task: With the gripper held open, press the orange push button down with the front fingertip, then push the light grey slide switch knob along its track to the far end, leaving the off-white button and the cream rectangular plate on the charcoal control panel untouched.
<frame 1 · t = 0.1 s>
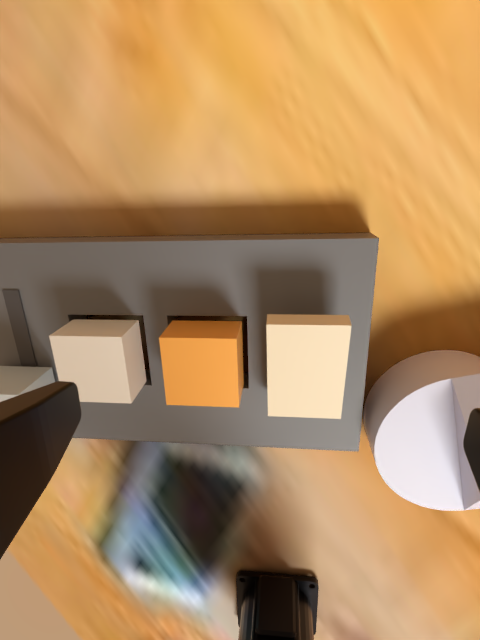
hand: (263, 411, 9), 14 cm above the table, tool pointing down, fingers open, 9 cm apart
orange button: (204, 362, 21), point 3 cm above the table, slide at 0.0 cm
off-white button: (101, 360, 22), point 3 cm above the table, slide at 0.0 cm
control panel: (168, 338, 25), on the table
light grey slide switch: (13, 401, 23), point 4 cm above the table, slide at 0.0 cm
wedge on round base: (468, 407, 24), on the table
cream rectangular plate: (305, 368, 20), point 4 cm above the table, hinge at -10.0°
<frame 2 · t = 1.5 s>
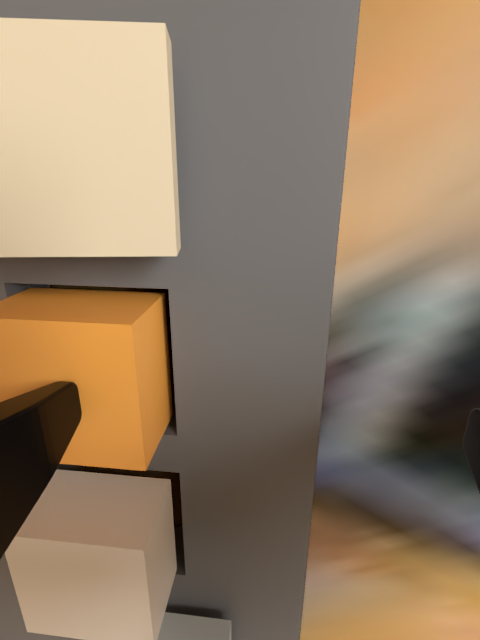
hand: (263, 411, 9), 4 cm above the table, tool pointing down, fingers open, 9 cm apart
orange button: (84, 373, 10), point 3 cm above the table, slide at -0.6 cm, touching gripper
off-white button: (100, 554, 12), point 3 cm above the table, slide at 0.0 cm
control panel: (130, 412, 14), on the table
cream rectangular plate: (19, 150, 8), point 4 cm above the table, hinge at -10.0°
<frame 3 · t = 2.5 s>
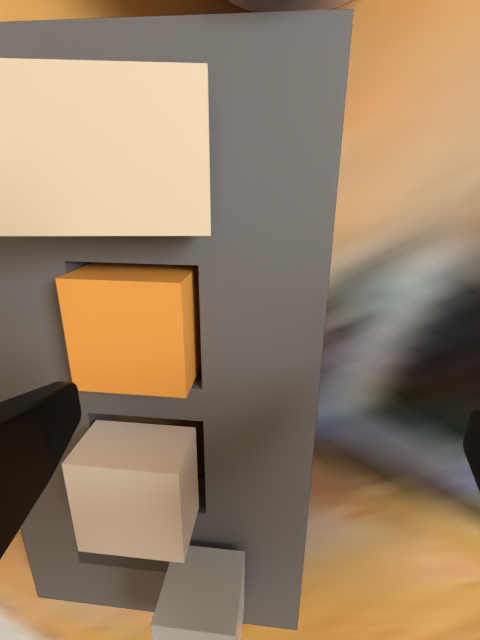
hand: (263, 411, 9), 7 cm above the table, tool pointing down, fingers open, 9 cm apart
orange button: (137, 326, 14), point 2 cm above the table, slide at -1.4 cm
off-white button: (138, 488, 14), point 3 cm above the table, slide at 0.0 cm
control panel: (159, 375, 16), on the table
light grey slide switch: (203, 615, 15), point 4 cm above the table, slide at 0.0 cm
cream rectangular plate: (93, 155, 10), point 4 cm above the table, hinge at -10.0°
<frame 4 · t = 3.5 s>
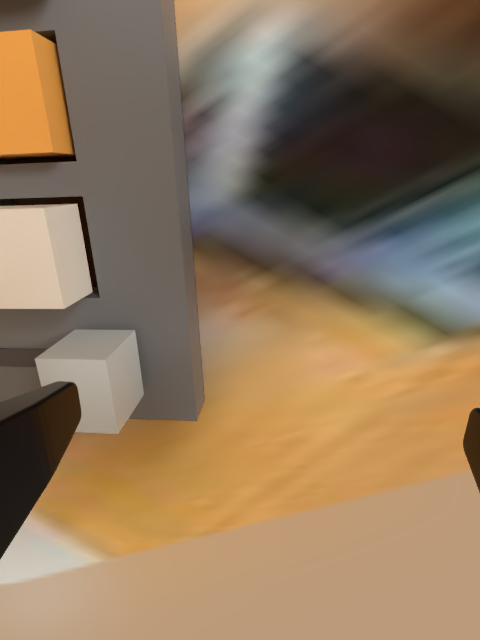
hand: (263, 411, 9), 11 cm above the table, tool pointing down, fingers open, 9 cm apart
orange button: (14, 102, 16), point 2 cm above the table, slide at -1.4 cm
off-white button: (27, 255, 16), point 3 cm above the table, slide at 0.0 cm
control panel: (55, 180, 18), on the table
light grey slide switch: (95, 378, 17), point 4 cm above the table, slide at 0.0 cm
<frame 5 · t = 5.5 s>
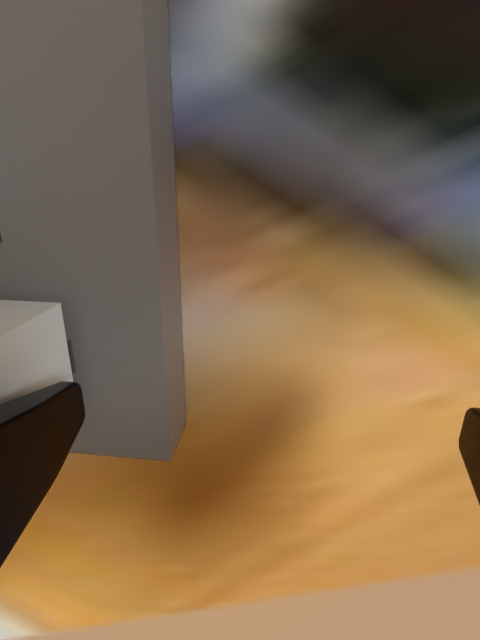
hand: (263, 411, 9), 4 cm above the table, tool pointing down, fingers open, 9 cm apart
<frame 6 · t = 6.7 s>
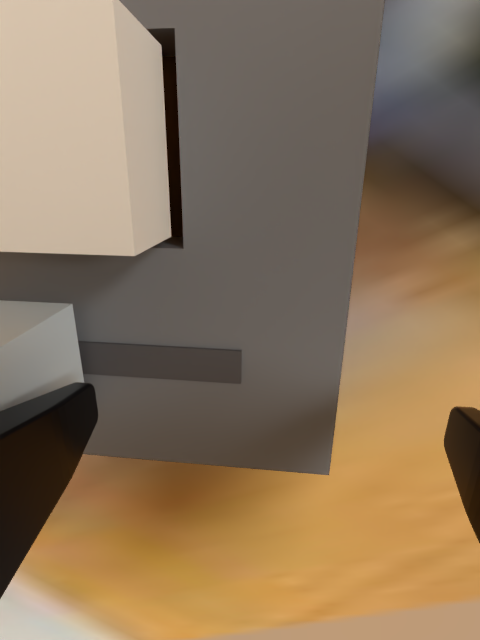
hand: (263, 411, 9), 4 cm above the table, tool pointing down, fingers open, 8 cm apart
off-white button: (54, 144, 8), point 3 cm above the table, slide at 0.0 cm
control panel: (106, 25, 10), on the table
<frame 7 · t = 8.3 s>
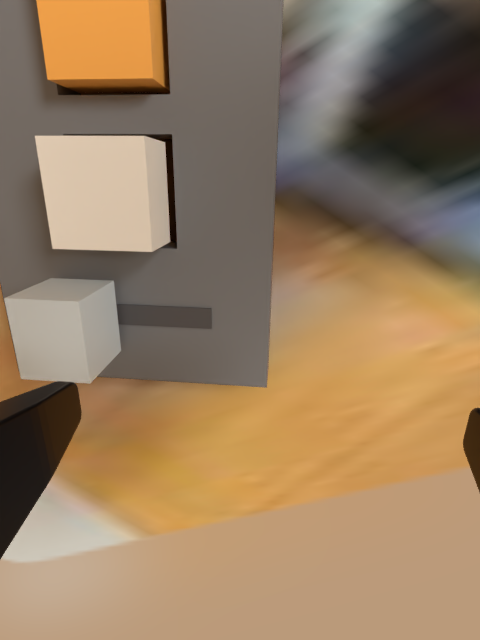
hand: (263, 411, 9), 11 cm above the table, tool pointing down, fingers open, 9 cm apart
orange button: (108, 25, 14), point 2 cm above the table, slide at -1.4 cm
off-white button: (109, 194, 15), point 3 cm above the table, slide at 0.0 cm
control panel: (133, 121, 17), on the table
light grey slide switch: (69, 327, 17), point 4 cm above the table, slide at 4.6 cm
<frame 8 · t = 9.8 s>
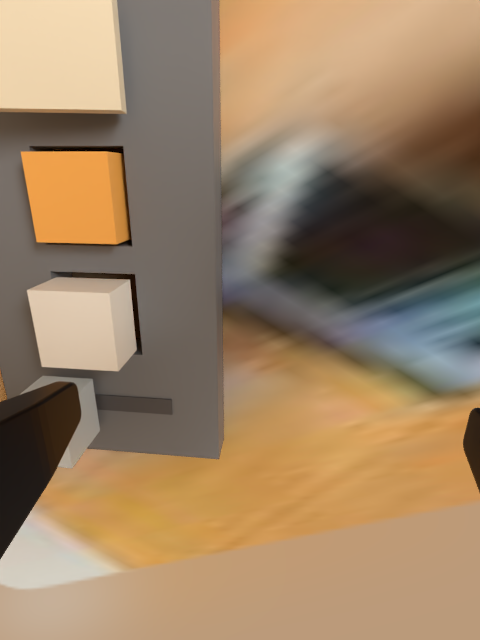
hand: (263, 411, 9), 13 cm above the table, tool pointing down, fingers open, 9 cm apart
orange button: (83, 197, 19), point 2 cm above the table, slide at -1.4 cm
off-white button: (86, 322, 20), point 3 cm above the table, slide at 0.0 cm
control panel: (107, 252, 22), on the table
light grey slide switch: (56, 419, 21), point 4 cm above the table, slide at 4.6 cm
cream rectangular plate: (41, 53, 15), point 4 cm above the table, hinge at -10.0°
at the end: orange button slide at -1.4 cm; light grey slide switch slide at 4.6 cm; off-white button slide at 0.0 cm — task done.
